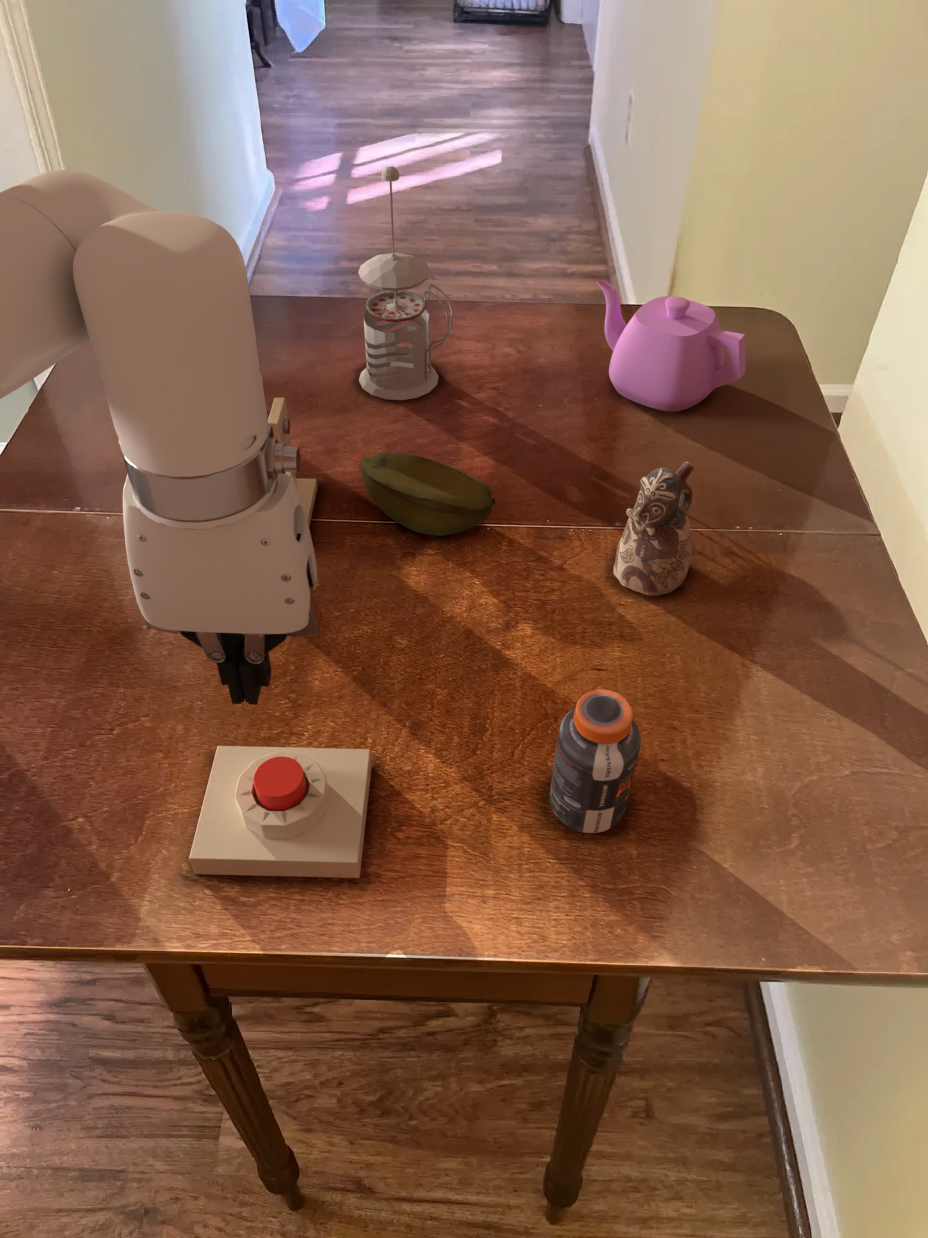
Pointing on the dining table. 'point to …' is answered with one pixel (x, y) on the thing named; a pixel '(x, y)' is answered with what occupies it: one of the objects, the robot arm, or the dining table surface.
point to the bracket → (282, 434)
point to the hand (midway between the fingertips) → (249, 687)
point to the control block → (284, 816)
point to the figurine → (657, 534)
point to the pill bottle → (595, 762)
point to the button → (279, 783)
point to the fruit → (426, 493)
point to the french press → (411, 364)
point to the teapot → (669, 351)
